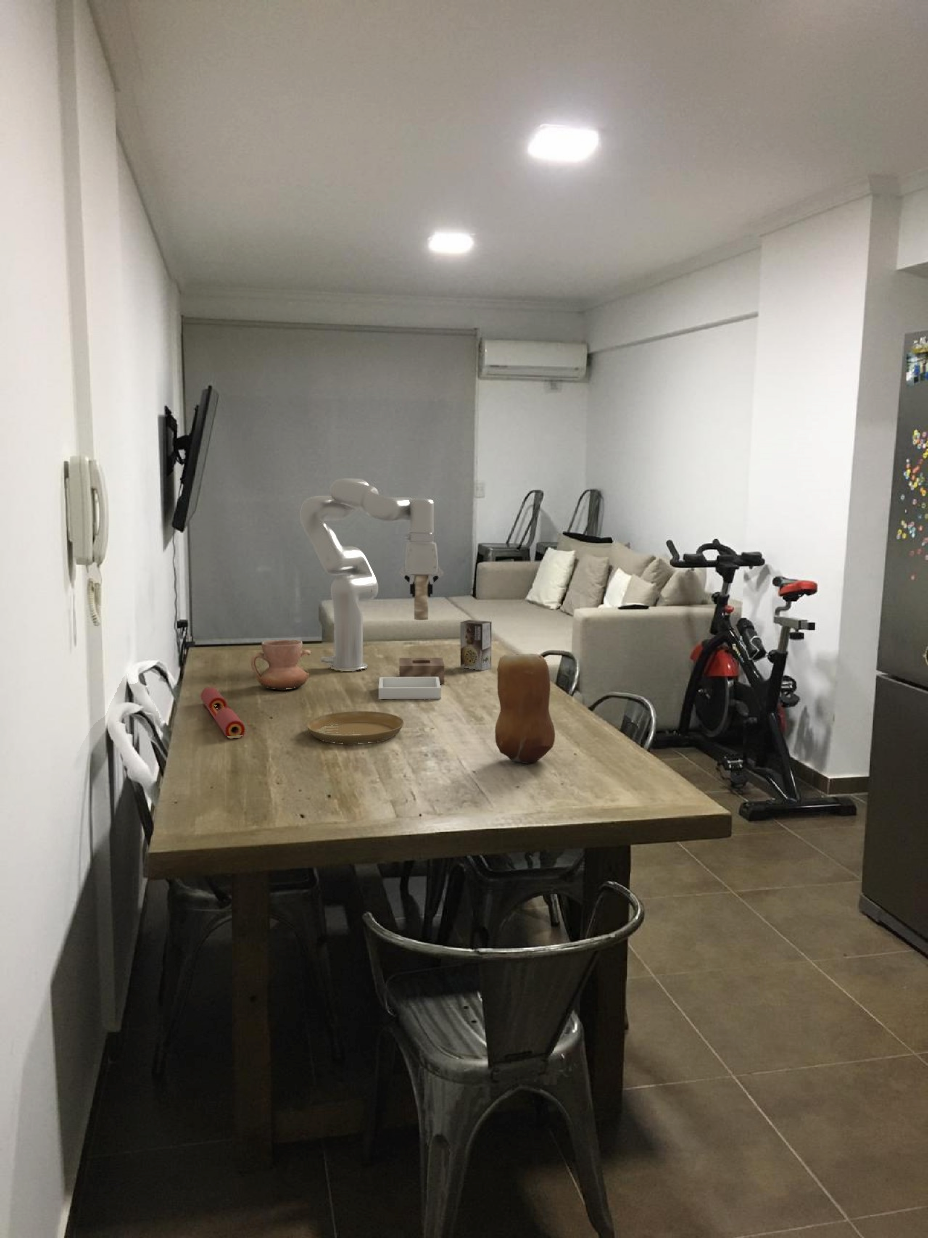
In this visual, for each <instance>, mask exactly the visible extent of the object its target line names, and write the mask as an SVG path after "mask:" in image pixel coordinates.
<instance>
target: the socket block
mask: <svg viewBox="0 0 928 1238" xmlns="http://www.w3.org/2000/svg"><path fill="white" fill-rule="evenodd" d="M398 661H399V664H398V665H399V666H398V667H399V670H398V671H399V672H398V673H399V675H398V677H439V681H440V684H444V685H445V663H444V659H443V657H399V659H398Z"/></svg>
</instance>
